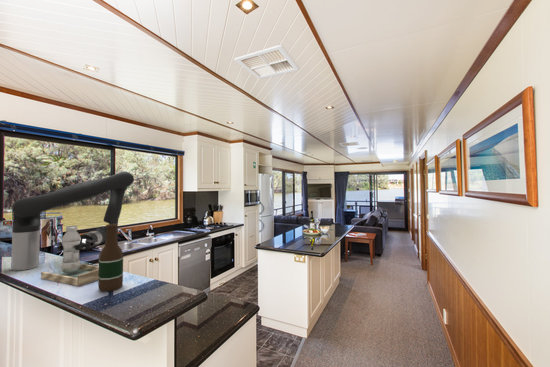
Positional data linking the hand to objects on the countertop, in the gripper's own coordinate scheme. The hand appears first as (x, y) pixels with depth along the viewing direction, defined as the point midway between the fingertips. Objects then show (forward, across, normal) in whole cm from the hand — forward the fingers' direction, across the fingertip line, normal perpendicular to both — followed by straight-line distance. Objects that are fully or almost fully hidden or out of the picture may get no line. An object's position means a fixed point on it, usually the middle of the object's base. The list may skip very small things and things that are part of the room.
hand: (67, 248), depth 105 cm
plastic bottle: (-2, 0, +11) cm, 11 cm away
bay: (0, +4, +12) cm, 13 cm away
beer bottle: (+16, +24, +12) cm, 31 cm away
